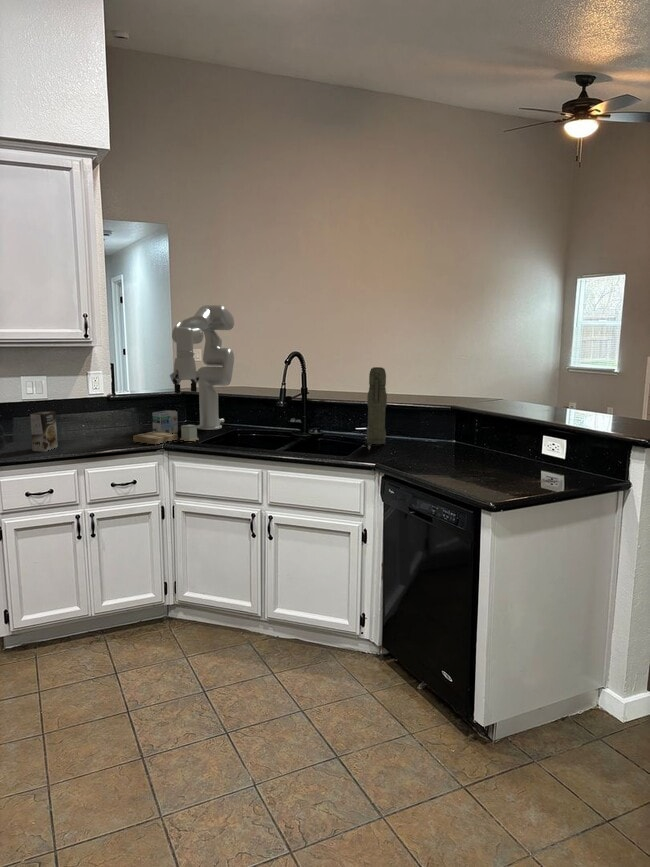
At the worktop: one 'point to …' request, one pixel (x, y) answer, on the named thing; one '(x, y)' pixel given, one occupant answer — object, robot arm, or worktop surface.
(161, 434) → the dock
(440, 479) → the worktop surface
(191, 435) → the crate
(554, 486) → the worktop surface
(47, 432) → the coffee box
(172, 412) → the light bulb box
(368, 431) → the thermos
